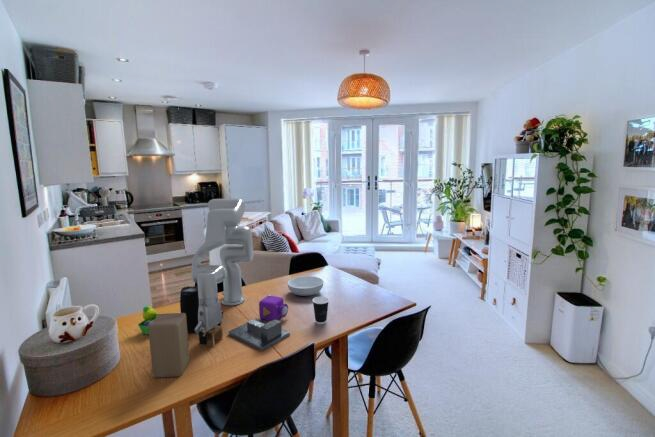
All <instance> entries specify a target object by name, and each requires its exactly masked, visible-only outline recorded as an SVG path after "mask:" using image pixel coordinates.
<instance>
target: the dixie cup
mask: <svg viewBox="0 0 655 437" xmlns="http://www.w3.org/2000/svg"><path fill="white" fill-rule="evenodd" d="M329 301H330V298H328V297H326V296H315V297H313V298H312V304H313V313H314V319H315V324H317V325H324V324H326V323H327V319H328V310H329Z"/></svg>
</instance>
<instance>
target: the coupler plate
mask: <svg viewBox="0 0 655 437" xmlns="http://www.w3.org/2000/svg"><path fill="white" fill-rule="evenodd" d="M228 336H231V337H232V338H235V339H236V340H239V341H241V342H242V343H244V344H247V345H249V346H251V347H252V348H255V349H257V350H259V351H261V352H263V351H265V350H267V349H268V348H270V347H272V346H274V345H275V344H277V343H278V342H281V341H282V340H285V339H286V338H287V337H290V336H291V331H288V330H286V329H284V328H282V321H280V320H279V319H277V320H275V319H274V320H272V321H270V320H269V321H268V322H267V321H266V320H263V319H261V318H255V319H254V318H252V319H250V320H248V321H246V322H245V323H243V324H241V325H240V326H237V327H235V328H233V329H231V330H229V331H228Z"/></svg>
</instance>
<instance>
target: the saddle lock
mask: <svg viewBox="0 0 655 437" xmlns="http://www.w3.org/2000/svg"><path fill="white" fill-rule="evenodd" d="M203 328H204V327H203ZM202 332H204V330H202ZM205 335H206V336H207V344H206V345H205V346H207V347H212V346H213V347H216V345H215V340H220V341H222V340H223V339H224V338H223V337H224V334H223V325H221V326H218V325H216V326H214V327H213V328H212V329H210V330H207V332H206V334H205ZM198 342H199V345H202V346H204V345H203V344H200V341H199V340H198ZM213 347H212V348H213Z"/></svg>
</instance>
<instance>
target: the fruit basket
mask: <svg viewBox="0 0 655 437" xmlns="http://www.w3.org/2000/svg"><path fill="white" fill-rule="evenodd" d="M159 314H160V313H157V311H156V310H155V309H154V308H153V307H151V306H149V305H145V306H144V307H143V309H142V317H143V319H144V320H142V321H141V322H139V323H138V324H137V325H138V327H139V328H140V331H141V333H142V335H146V334H149V330H148V327H149V325H150V323H151V322H152V321H153V320H154V319H155V318H156V317H157V316H158V315H159ZM144 333H145V334H144Z"/></svg>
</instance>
